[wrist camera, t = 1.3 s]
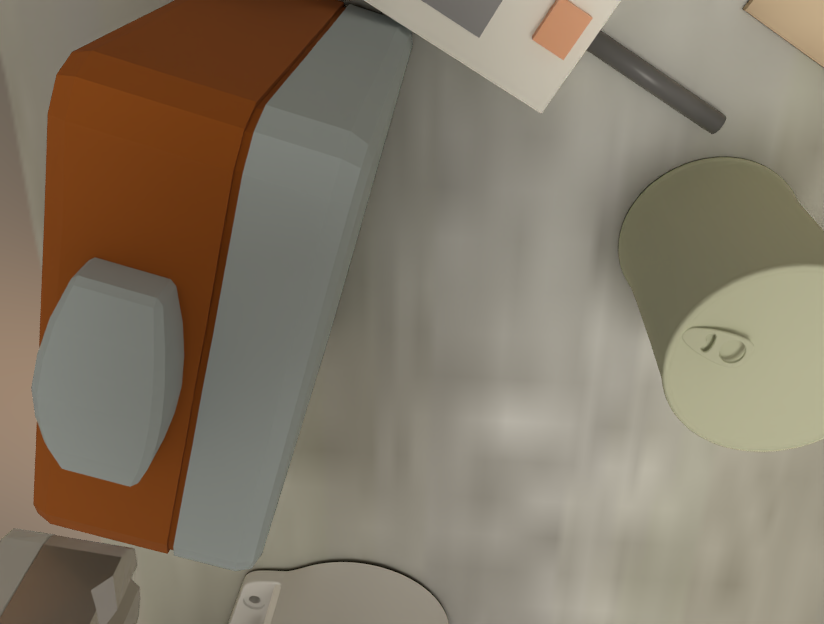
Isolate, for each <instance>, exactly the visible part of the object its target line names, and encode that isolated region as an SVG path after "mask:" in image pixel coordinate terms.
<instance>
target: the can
mask: <svg viewBox="0 0 824 624" xmlns="http://www.w3.org/2000/svg"><path fill="white" fill-rule="evenodd" d="M618 248H619V261H620V266H621V269H622V272H623V274H624V277H625V279H626V280H627V282H628V284H629V285H630V287H631V288H632V291H633V294H634V296H635V299H636V302H637V304H638V307H639V310H640V313H641V316H642V319H643V322H644V325H645V328H646V331H647V334H648V337H649V340H650V343H651V346H652V349H653V352H654V355H655V358H656V362H657V365H658V368H659V371H660V374H661V377H662V384H663V389H664V393H665V396H666V399H667V401H668V403H669V405H670V407H671V409H672V411H673V412H674V414H675V415H676V416H677V417H678V419H679V420H680V421H681V422H682V423H683V424H684V425H685V426H686V427H687V428H688V429H690V430H691V431H692V432H694V433H695V434H697V435H698V436H700V437H702V438H704V439H706V440H708V441H710V442H712V443H715V444H717V445H720V446H723V447H727V448H731V449H736V450H742V451H753V452H769V451H780V450H787V449H793V448H797V447H801V446H805V445H808V444H812V443H815V442H817V441H820V440H822V439H824V231H823V230H822V229H821V227H820V226H819V225H818V224H817V223H816V222H815V221H814V220H813V219H812V217H811V216H810V215H809V214H808V213H807V212H806V211H805V209H804V208H803V207H802V206H801V205H800V204H799V202H798V201H797V199H796V197H795V195H794V193H793V191H792V190H791V188H790V187H789V186H788V184H787V183H786V182H785V181H784V180H783V179H782V178H781V177H780V176H779V175H777V174H776V173H775V172H773V171H772V170H770V169H769V168H767V167H765V166H763V165H761V164H758V163H756V162H753V161H749V160H746V159H740V158H732V157H715V158H708V159H702V160H697V161H694V162H690V163H687V164H684V165H682V166H680V167H678V168H675V169H673V170H672V171H670V172H668V173H666V174H664V175H663V176H662V177H660V178H659V179H657V180H656V181H654V182H653V183H652V184H651V185H650V186H649V187H647V188H646V190H645V191H644V192H643V193H642V194H641V195H640V196H639V197H638V198H637V200H636V201H635V202H634V204H633V205H632V207H631V208H630V210H629V212H628V214H627V216H626V218H625V220H624V222H623V225H622V229H621V232H620V237H619V245H618Z"/></svg>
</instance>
